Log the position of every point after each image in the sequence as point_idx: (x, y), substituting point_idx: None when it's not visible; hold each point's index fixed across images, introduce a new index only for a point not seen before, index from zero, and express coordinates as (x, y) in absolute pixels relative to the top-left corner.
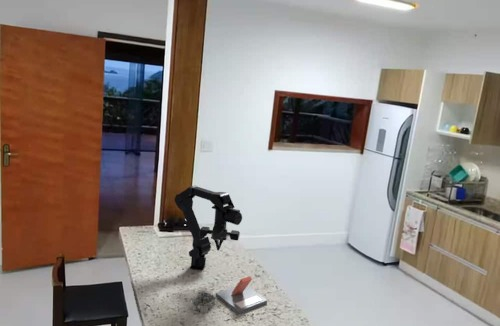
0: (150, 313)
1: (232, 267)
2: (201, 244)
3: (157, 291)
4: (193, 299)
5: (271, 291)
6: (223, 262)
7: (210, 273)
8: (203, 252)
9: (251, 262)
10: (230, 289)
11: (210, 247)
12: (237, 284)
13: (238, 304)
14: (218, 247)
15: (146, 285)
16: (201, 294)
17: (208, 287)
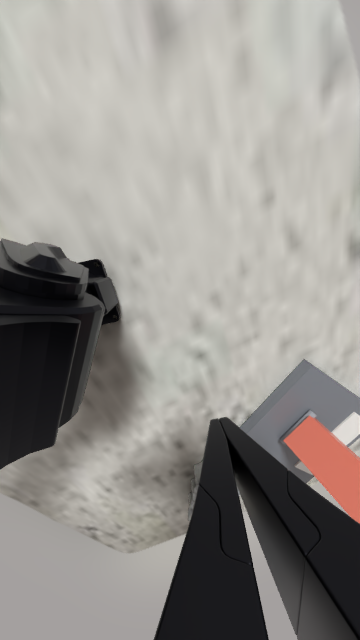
0: (115, 542)
1: (238, 220)
2: (10, 454)
3: (69, 487)
4: (189, 513)
5: None
6: (179, 180)
7: (162, 327)
8: (85, 385)
9: (335, 87)
10: (271, 416)
11: (98, 317)
12: (329, 492)
13: (303, 467)
14: (235, 476)
15: (18, 481)
16: (197, 479)
17: (193, 412)
